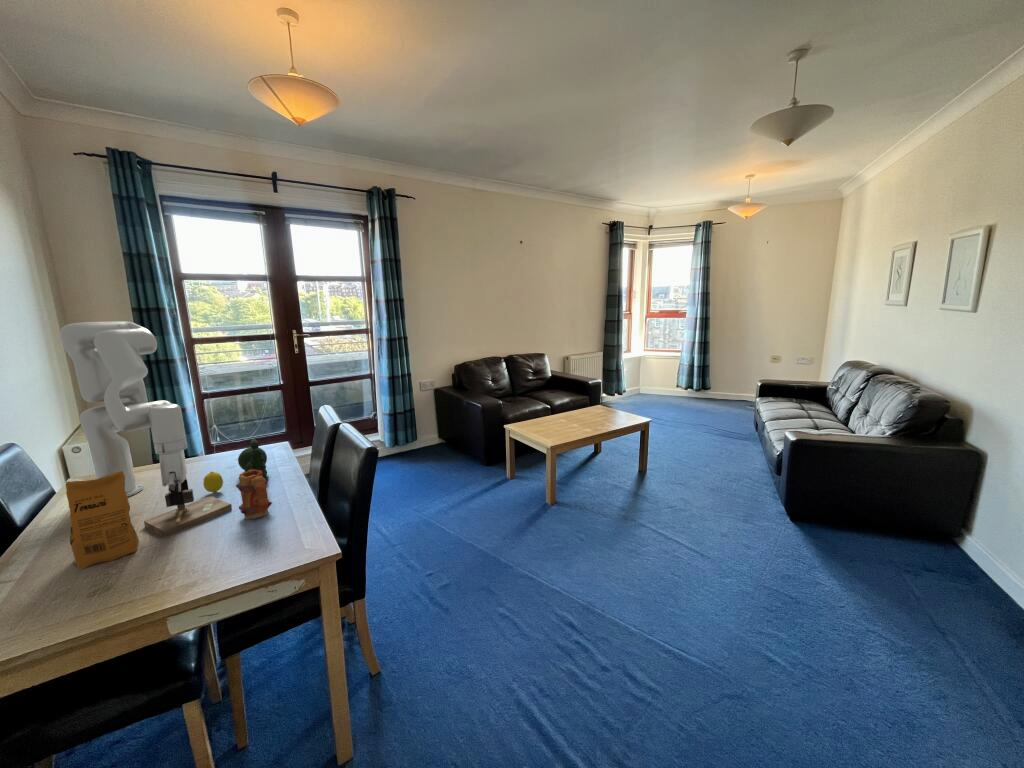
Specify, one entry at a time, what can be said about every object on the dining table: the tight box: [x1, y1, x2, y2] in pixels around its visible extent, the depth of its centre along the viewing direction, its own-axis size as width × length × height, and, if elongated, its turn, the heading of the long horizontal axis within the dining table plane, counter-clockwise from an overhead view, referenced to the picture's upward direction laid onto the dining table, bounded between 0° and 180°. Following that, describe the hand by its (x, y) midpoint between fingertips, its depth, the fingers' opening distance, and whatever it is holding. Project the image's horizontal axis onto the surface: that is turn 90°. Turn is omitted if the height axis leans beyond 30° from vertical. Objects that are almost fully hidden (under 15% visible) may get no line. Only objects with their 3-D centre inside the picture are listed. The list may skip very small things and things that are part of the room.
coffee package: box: [65, 471, 140, 569], centre depth 106 cm, size 10×12×22 cm
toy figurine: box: [237, 438, 269, 483], centre depth 153 cm, size 9×19×25 cm
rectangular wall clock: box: [143, 495, 233, 538], centre depth 126 cm, size 12×18×2 cm, turn 152°
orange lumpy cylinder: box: [235, 470, 273, 520], centre depth 125 cm, size 15×8×15 cm, turn 47°
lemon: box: [202, 471, 224, 494], centre depth 142 cm, size 6×6×8 cm
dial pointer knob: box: [164, 488, 195, 523], centre depth 123 cm, size 9×6×6 cm
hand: (180, 498), depth 125 cm, fingers open, 9 cm apart
